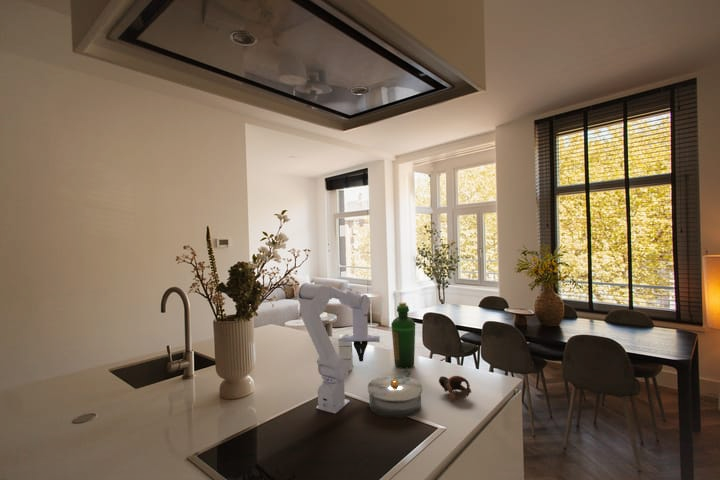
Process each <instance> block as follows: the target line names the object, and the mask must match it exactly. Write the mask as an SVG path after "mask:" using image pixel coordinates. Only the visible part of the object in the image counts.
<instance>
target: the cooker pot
mask: <svg viewBox="0 0 720 480" xmlns="http://www.w3.org/2000/svg"><path fill="white" fill-rule="evenodd" d="M368 394H369V393H368ZM368 397H369V408H370V410H371V412H372V413H374V414H375V415H378V416H380V417H384V418H388V419H405V418H409V417H413V416H415V415H417V414H418V413H419V412H420V411H421V409H422V394H421V395H420V396H419V397H417V398H415V399H413V400H410V401H406V402H386V401H381V400H378V399H376V398H374V397H372V396H371V395H370V394H369V395H368Z"/></svg>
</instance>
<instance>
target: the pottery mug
mask: <svg viewBox="0 0 720 480" xmlns="http://www.w3.org/2000/svg"><path fill="white" fill-rule="evenodd" d="M464 382H465V384H466V387H465V386H464V385H462V383H464ZM469 383H470V382H469V381H468V380H467V379H466V378H465V377H463V376H461V375H453V376H450V377H446V376H439V379H438V384H439V385H440V387H442V388H443V389H444V392H445V393H446V392H448V393H449V394H450V395H449V397H448V399H449V400H450V401H451V402H452V403H453V402H454V401H458V400H459V401H460V400H463V399H466V398H467V397H468V396H469V395H470V393H471V394H472V389H471V388H470V387H471V386H470V384H469Z"/></svg>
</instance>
